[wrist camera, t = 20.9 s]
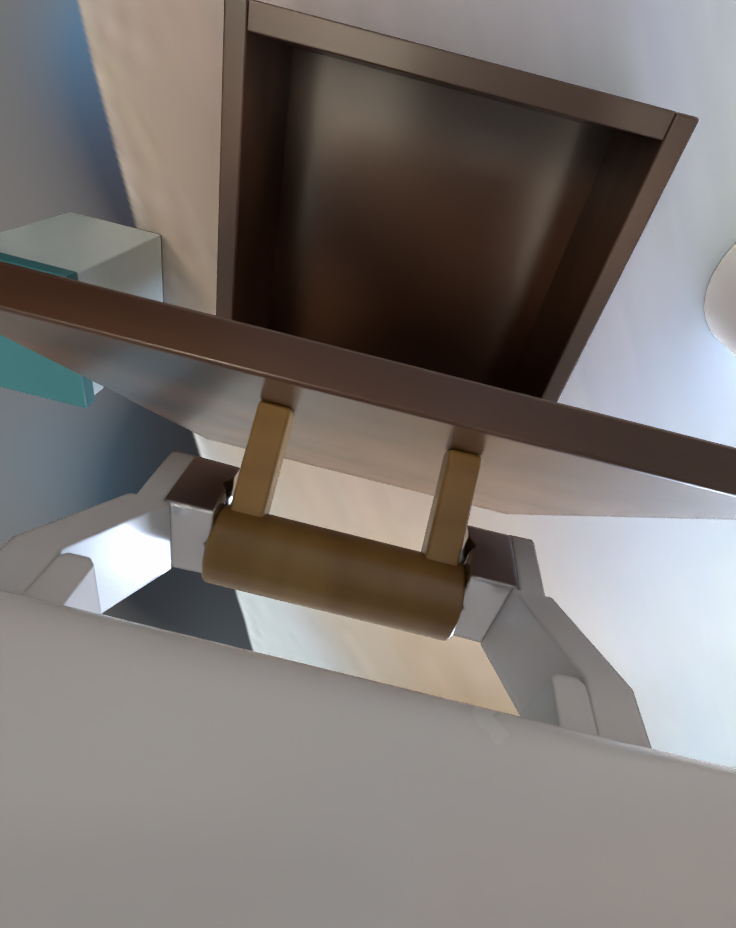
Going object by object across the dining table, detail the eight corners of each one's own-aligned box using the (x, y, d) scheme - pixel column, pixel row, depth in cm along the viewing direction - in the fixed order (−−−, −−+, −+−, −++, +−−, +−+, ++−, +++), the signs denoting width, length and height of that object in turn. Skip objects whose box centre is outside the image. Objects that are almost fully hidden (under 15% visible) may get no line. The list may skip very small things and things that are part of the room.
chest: (281, 19, 21) (223, -9, 16) (637, 113, 21) (700, 118, 16) (254, 369, 31) (212, 426, 26) (497, 431, 31) (507, 500, 26)
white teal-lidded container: (67, 207, 27) (-64, 243, 20) (163, 232, 27) (66, 276, 20) (82, 319, 31) (-23, 381, 24) (167, 340, 31) (86, 409, 24)
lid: (-87, 236, 8) (-188, 519, 8) (852, 475, 8) (808, 763, 8) (211, 423, 25) (185, 512, 25) (510, 499, 26) (490, 588, 25)
